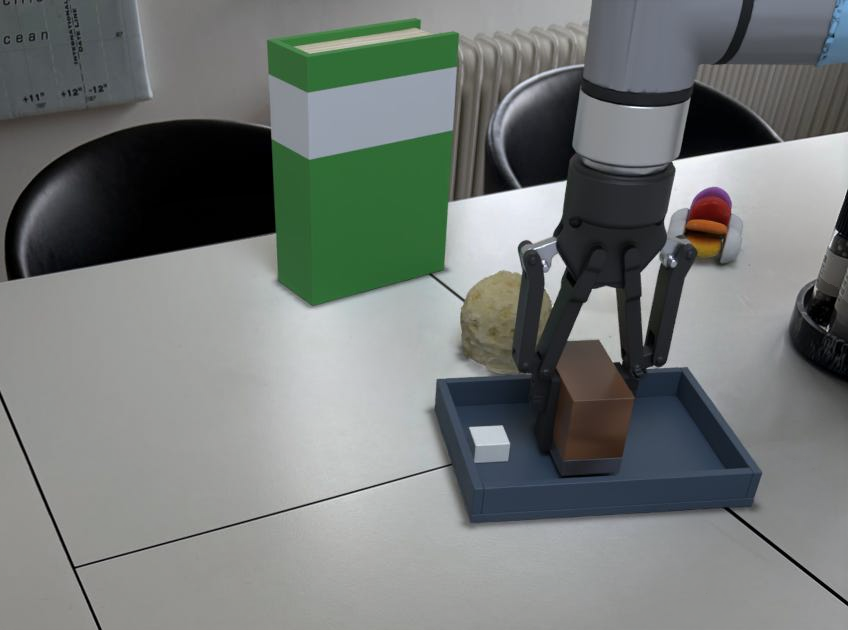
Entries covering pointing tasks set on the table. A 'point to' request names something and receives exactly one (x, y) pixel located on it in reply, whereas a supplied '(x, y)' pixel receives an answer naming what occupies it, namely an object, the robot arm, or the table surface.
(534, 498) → the tray
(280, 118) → the hardback book
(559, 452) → the eraser
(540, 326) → the decorative item
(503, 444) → the white short square block
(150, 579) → the table surface
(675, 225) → the rainbow disc roller
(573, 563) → the table surface
